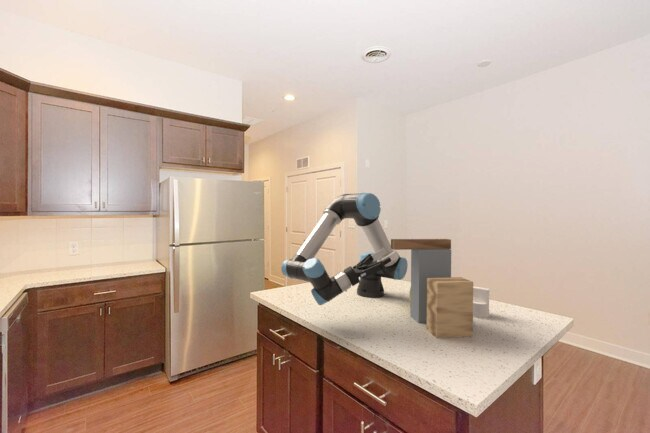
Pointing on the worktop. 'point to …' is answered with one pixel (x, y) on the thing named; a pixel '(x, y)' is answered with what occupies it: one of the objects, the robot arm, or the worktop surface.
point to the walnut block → (420, 244)
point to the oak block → (450, 307)
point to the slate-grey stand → (424, 267)
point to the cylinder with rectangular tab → (480, 302)
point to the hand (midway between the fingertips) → (390, 252)
